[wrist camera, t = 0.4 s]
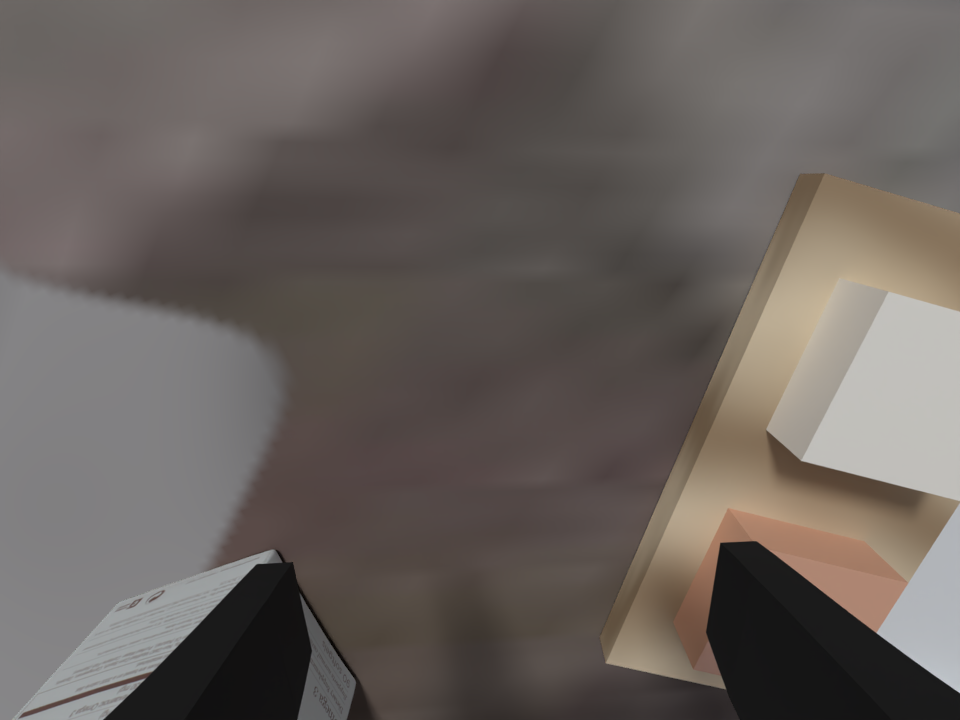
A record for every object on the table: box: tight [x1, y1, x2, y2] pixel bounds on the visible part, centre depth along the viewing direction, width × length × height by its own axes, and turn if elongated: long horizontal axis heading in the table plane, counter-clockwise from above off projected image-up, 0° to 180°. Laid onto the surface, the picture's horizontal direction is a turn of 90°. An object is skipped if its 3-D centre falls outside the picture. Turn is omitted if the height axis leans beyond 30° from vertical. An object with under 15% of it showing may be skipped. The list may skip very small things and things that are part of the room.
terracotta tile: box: [673, 508, 908, 676], centre depth 18 cm, size 5×5×2 cm
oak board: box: [600, 173, 960, 689], centre depth 18 cm, size 18×9×1 cm, turn 165°
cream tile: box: [766, 278, 960, 501], centre depth 15 cm, size 5×5×2 cm
